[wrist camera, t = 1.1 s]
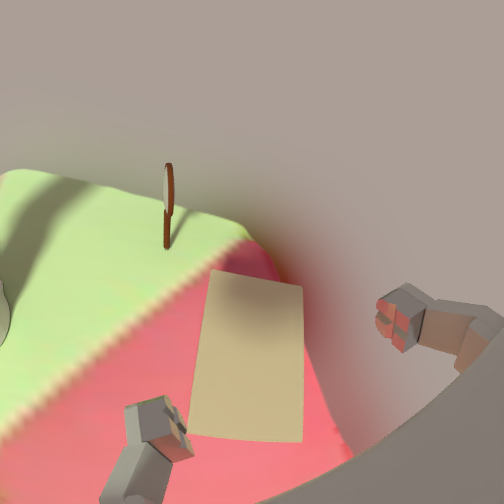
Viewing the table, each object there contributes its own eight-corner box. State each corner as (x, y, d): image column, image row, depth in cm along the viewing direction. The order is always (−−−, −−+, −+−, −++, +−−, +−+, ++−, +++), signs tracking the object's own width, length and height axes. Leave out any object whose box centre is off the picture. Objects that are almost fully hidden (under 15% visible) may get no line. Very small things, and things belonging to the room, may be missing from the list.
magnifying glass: (160, 233, 59) (163, 152, 43) (168, 232, 59) (173, 152, 44) (164, 268, 54) (165, 187, 38) (173, 267, 54) (178, 186, 39)
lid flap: (186, 432, 28) (186, 432, 27) (211, 271, 42) (211, 268, 41) (300, 442, 30) (302, 442, 29) (301, 288, 44) (302, 286, 43)
